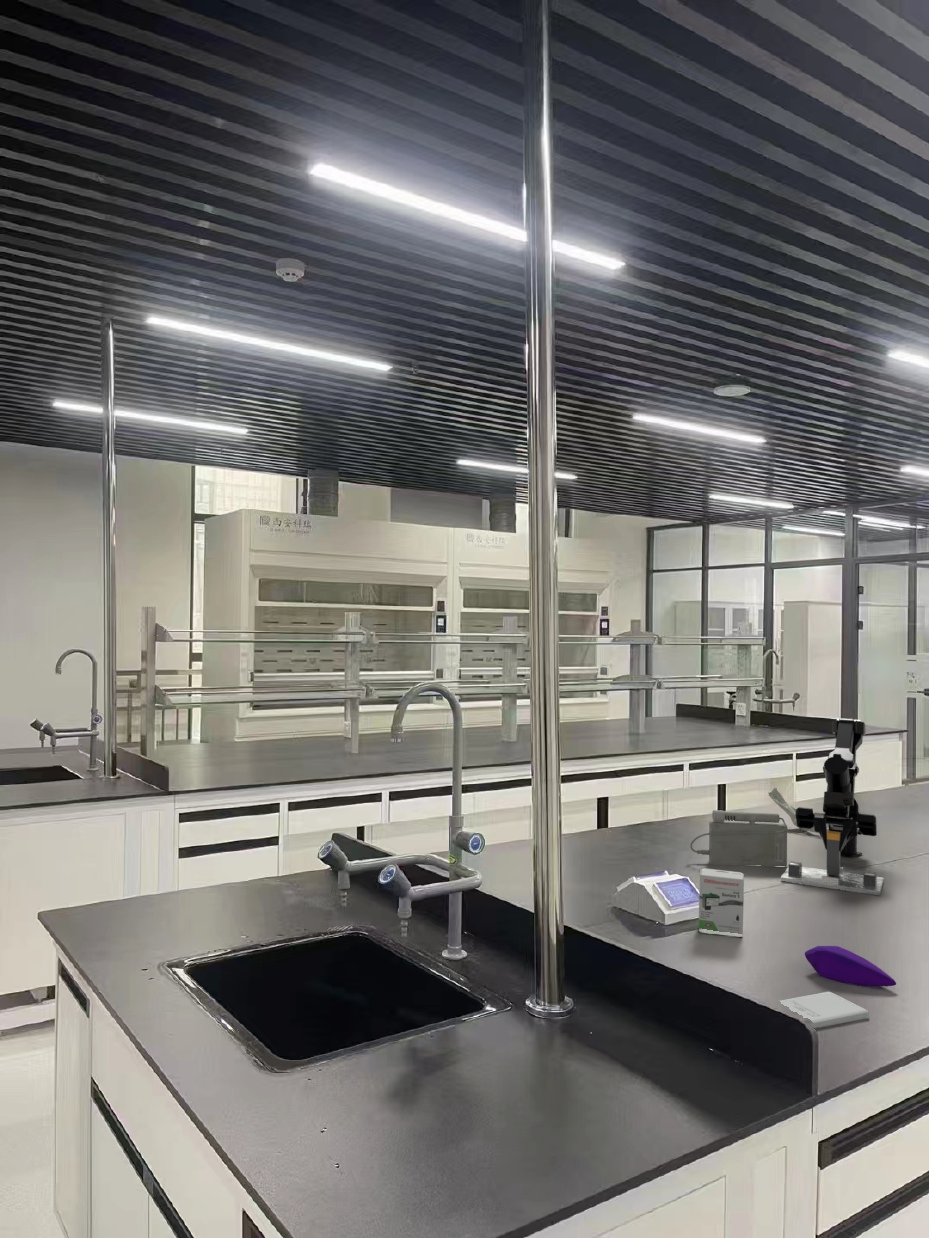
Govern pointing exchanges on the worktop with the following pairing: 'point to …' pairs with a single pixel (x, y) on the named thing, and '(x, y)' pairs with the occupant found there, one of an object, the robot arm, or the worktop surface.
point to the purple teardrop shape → (846, 967)
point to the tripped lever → (833, 853)
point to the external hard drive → (826, 1009)
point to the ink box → (721, 900)
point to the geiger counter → (746, 839)
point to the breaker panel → (834, 879)
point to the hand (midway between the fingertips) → (832, 849)
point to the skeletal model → (787, 808)
